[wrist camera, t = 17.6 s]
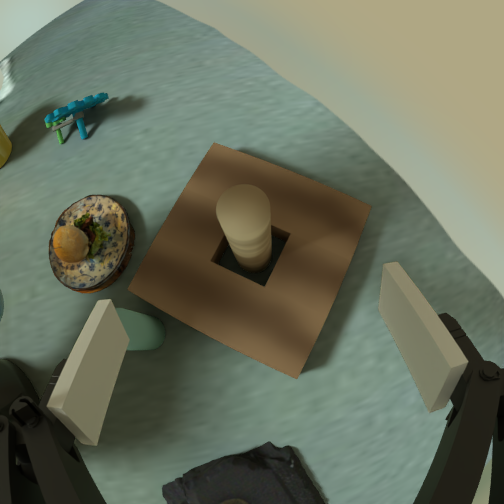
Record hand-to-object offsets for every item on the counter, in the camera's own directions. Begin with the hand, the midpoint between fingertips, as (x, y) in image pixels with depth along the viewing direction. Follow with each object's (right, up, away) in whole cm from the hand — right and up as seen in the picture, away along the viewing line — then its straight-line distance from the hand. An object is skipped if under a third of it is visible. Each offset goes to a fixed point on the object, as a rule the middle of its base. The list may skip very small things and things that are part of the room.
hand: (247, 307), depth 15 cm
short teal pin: (-10, -6, +16) cm, 20 cm away
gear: (-25, +22, +26) cm, 42 cm away
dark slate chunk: (+2, -28, +10) cm, 29 cm away
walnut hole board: (0, +2, +18) cm, 18 cm away
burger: (-19, +3, +20) cm, 28 cm away
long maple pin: (0, +2, +18) cm, 18 cm away
